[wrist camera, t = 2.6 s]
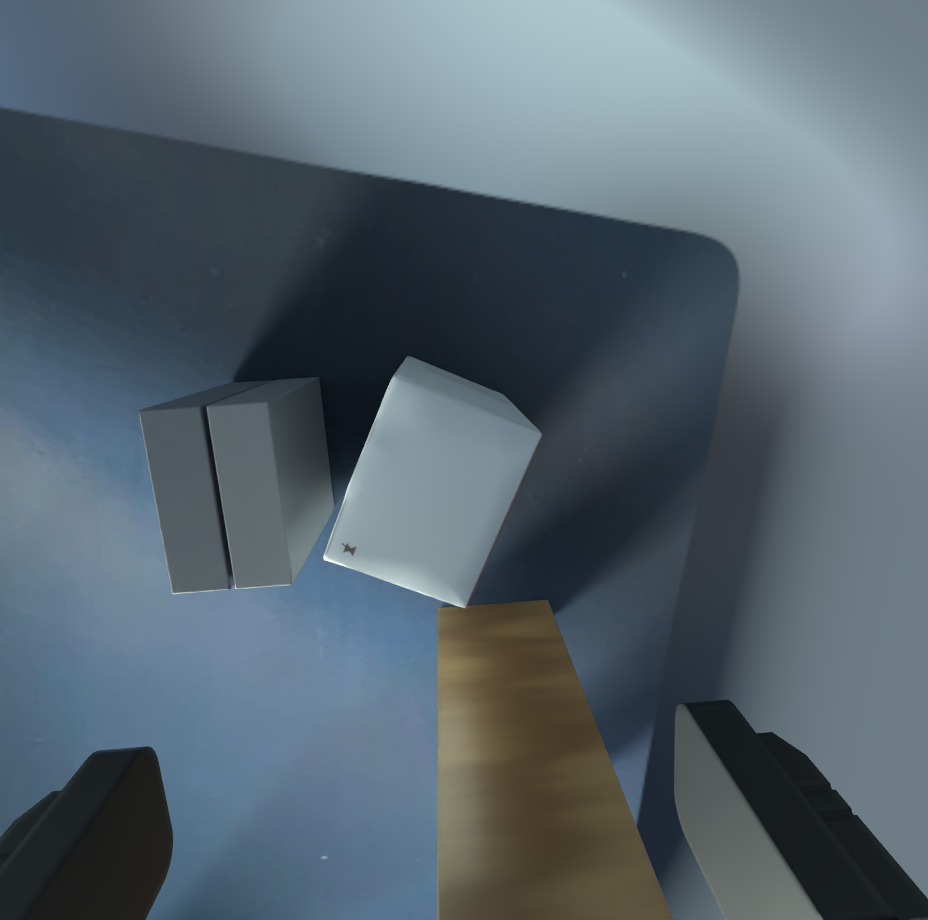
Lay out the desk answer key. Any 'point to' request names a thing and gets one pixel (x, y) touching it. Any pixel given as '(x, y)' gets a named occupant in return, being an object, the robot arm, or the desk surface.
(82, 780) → the robot arm
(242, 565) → the grey books
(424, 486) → the small box
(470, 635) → the shelf stand
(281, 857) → the desk surface
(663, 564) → the desk surface
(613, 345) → the desk surface
